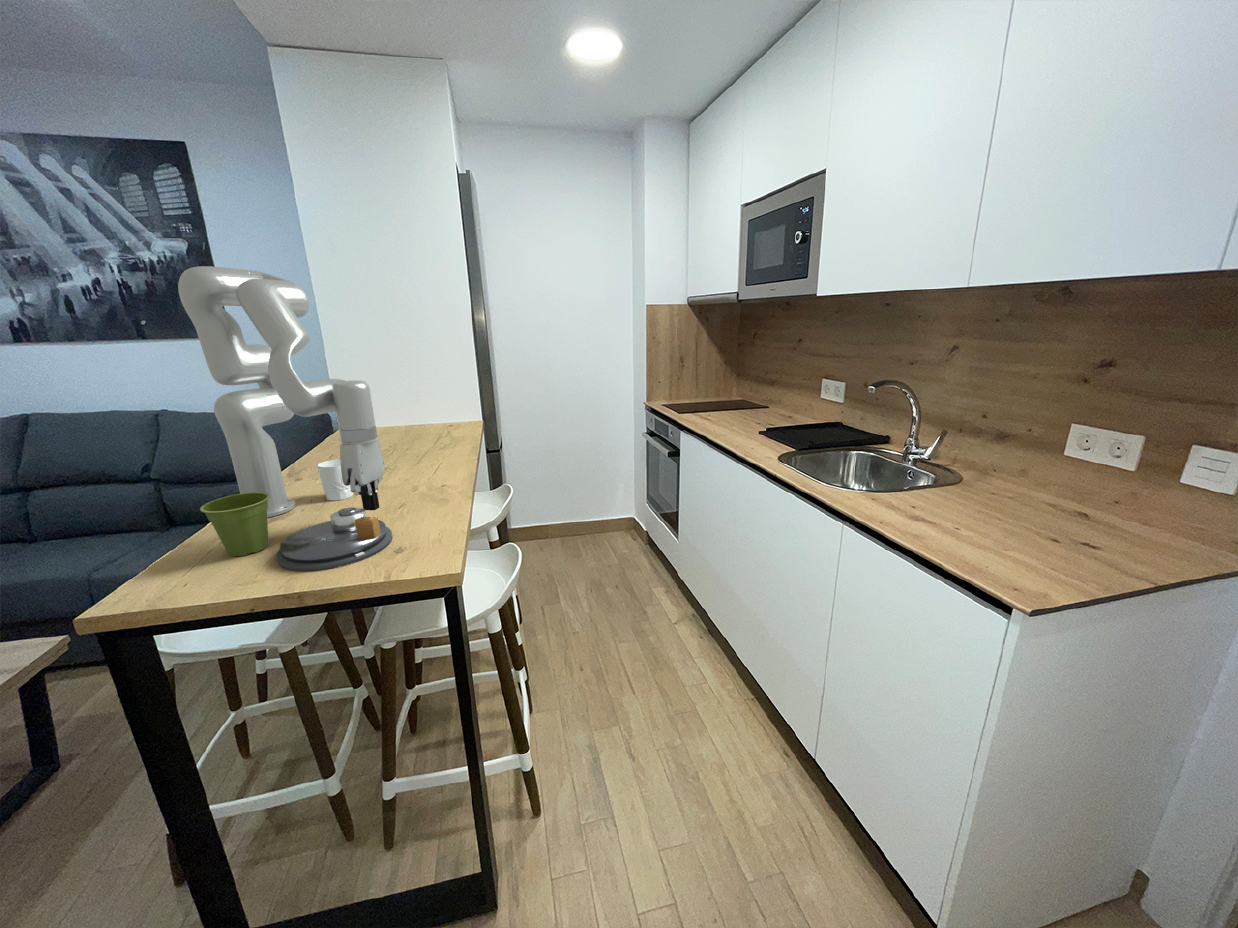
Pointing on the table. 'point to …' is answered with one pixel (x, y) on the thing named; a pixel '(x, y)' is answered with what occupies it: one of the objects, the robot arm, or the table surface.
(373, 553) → the turntable base
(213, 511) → the plant pot
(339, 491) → the white cup
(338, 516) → the cover
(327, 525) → the turntable
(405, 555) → the table surface
